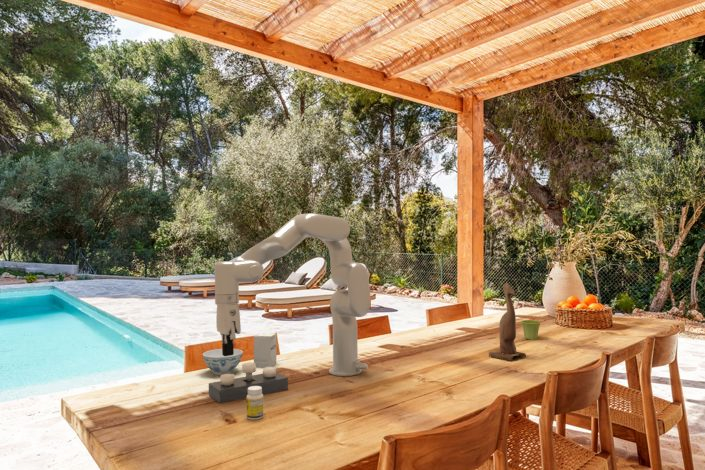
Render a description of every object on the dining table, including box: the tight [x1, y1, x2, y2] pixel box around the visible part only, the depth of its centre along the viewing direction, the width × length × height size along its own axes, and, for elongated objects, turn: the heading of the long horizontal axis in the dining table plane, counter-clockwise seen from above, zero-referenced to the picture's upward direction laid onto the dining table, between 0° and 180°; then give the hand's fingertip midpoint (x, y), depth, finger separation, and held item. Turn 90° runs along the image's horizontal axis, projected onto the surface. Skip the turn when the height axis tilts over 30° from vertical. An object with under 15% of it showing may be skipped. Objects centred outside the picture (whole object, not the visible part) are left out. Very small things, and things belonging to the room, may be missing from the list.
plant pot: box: [520, 319, 541, 341], centre depth 247 cm, size 9×9×9 cm
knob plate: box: [208, 371, 289, 404], centre depth 163 cm, size 24×10×4 cm, turn 125°
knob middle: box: [241, 362, 257, 382], centre depth 163 cm, size 4×4×6 cm
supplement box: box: [253, 332, 277, 368], centre depth 199 cm, size 7×7×13 cm
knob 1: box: [219, 373, 235, 387], centre depth 158 cm, size 4×4×6 cm
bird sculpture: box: [488, 282, 527, 362], centre depth 208 cm, size 11×12×32 cm
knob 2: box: [262, 366, 277, 378], centre depth 167 cm, size 4×4×6 cm
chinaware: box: [202, 348, 244, 376], centre depth 188 cm, size 15×15×8 cm
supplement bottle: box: [246, 386, 264, 421], centre depth 140 cm, size 5×5×8 cm
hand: (228, 355), depth 159 cm, fingers closed
